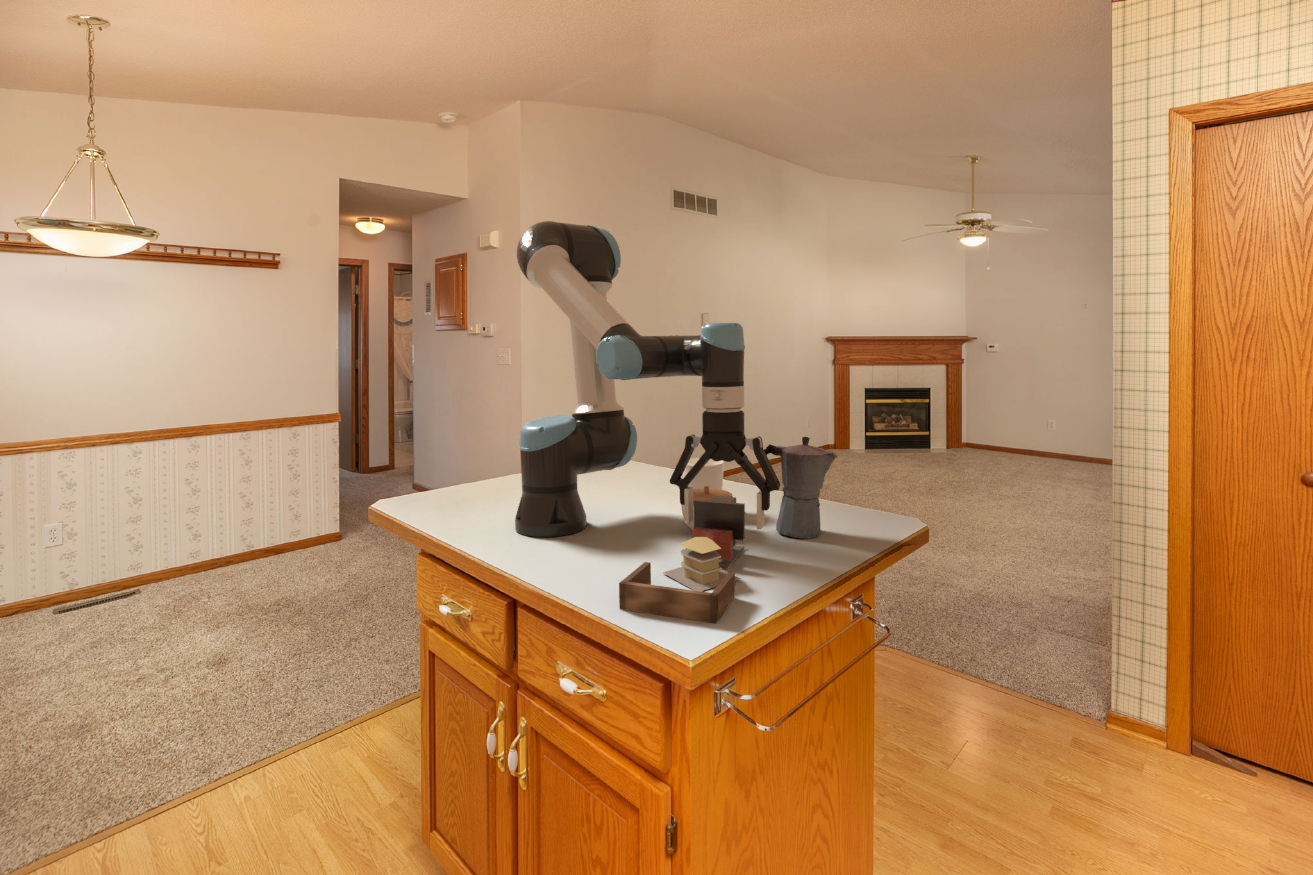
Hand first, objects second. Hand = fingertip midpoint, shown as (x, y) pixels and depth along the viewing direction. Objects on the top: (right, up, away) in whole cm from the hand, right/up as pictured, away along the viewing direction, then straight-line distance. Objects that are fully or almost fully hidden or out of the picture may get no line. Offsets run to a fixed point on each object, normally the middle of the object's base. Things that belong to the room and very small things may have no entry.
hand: (724, 524), depth 122 cm
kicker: (-1, -5, -2) cm, 5 cm away
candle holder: (-2, -1, +31) cm, 31 cm away
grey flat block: (-1, -6, -1) cm, 6 cm away
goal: (-9, -9, -21) cm, 25 cm away
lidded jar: (-2, -4, +17) cm, 17 cm away
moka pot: (+16, -4, +14) cm, 22 cm away
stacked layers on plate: (-5, -7, -11) cm, 14 cm away
